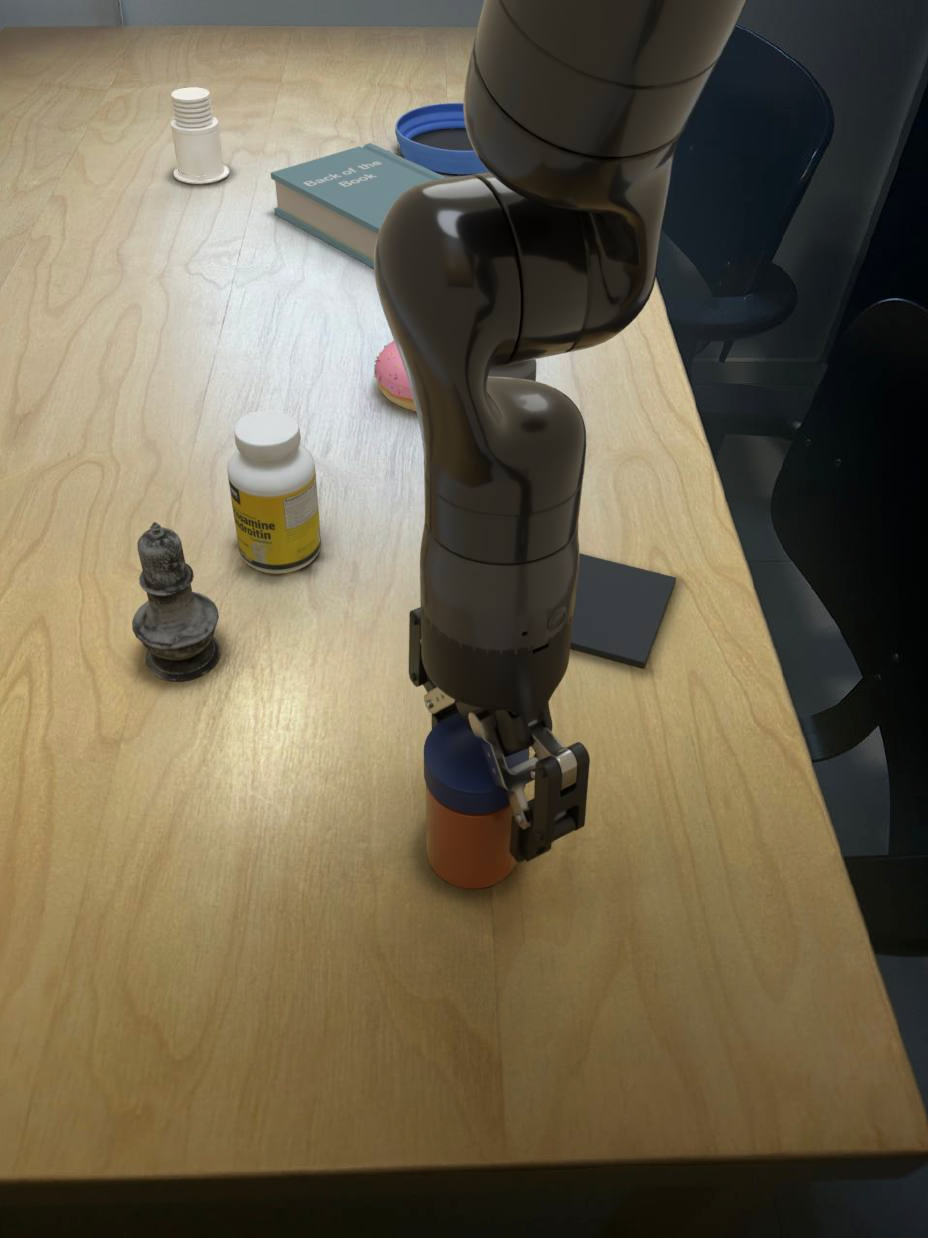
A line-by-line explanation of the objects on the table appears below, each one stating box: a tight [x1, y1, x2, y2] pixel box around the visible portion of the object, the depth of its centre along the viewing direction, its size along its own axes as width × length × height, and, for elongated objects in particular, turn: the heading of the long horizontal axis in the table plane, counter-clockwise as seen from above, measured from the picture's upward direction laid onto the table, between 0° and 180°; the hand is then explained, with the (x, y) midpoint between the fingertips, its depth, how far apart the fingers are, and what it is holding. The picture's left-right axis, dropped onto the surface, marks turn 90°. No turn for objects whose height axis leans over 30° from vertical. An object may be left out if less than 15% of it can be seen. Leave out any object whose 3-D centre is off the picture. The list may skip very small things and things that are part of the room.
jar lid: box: [423, 713, 530, 814], centre depth 61 cm, size 6×6×2 cm
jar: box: [425, 784, 518, 890], centre depth 64 cm, size 6×6×9 cm
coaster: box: [570, 552, 677, 669], centre depth 83 cm, size 10×10×1 cm
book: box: [270, 142, 447, 269], centre depth 131 cm, size 23×16×5 cm
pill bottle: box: [226, 409, 322, 575], centre depth 84 cm, size 6×6×12 cm
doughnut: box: [373, 340, 416, 412], centre depth 104 cm, size 11×11×4 cm
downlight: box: [170, 86, 230, 185], centre depth 139 cm, size 8×7×10 cm
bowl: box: [394, 102, 489, 175], centre depth 149 cm, size 18×18×4 cm
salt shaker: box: [131, 521, 222, 683], centre depth 75 cm, size 6×6×12 cm
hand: (488, 799), depth 64 cm, fingers open, 8 cm apart
